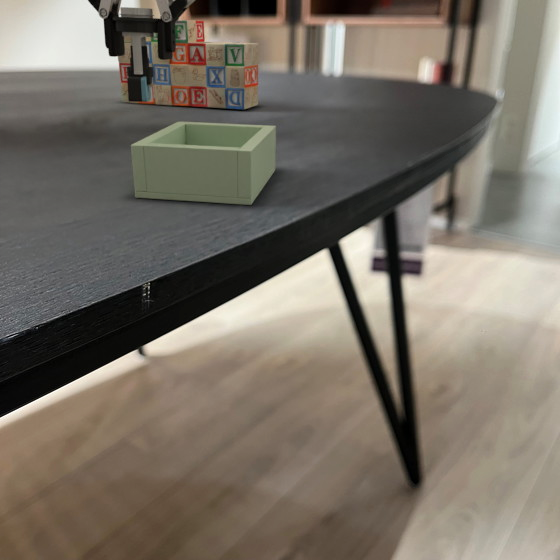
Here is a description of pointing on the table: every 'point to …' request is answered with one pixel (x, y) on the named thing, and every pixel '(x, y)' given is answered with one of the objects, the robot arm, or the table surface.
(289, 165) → the table surface
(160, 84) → the stack of blocks
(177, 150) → the open green box
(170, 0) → the robot arm
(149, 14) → the push button
